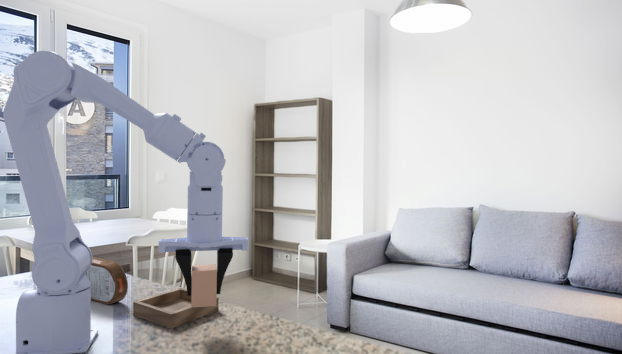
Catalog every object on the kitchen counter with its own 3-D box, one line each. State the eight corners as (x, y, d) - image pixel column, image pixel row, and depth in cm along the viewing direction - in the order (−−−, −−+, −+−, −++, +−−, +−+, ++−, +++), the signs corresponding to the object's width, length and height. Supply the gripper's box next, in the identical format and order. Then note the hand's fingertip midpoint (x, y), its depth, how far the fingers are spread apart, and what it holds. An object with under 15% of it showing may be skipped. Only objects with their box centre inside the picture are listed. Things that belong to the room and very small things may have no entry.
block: (191, 307, 69) (191, 271, 69) (191, 299, 73) (192, 265, 73) (216, 305, 70) (216, 270, 70) (215, 298, 74) (216, 264, 74)
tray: (171, 328, 72) (171, 314, 72) (133, 315, 79) (133, 301, 78) (218, 310, 82) (218, 297, 82) (180, 299, 88) (181, 287, 88)
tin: (129, 304, 84) (129, 262, 84) (115, 309, 82) (115, 266, 81) (83, 292, 92) (83, 253, 91) (69, 296, 89) (69, 256, 89)
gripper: (156, 216, 65) (156, 303, 66) (250, 215, 69) (249, 298, 69) (161, 211, 72) (160, 290, 73) (246, 210, 76) (245, 285, 76)
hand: (203, 293), depth 71 cm, fingers closed on block, 4 cm apart
